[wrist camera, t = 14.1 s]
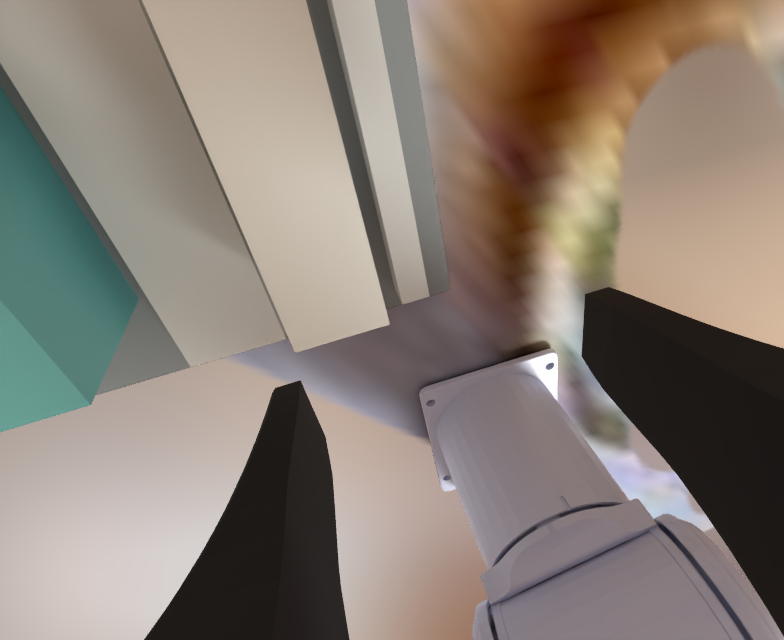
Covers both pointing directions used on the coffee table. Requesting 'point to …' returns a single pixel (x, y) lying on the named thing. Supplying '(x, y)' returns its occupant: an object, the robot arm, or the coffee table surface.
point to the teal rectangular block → (50, 287)
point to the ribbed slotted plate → (213, 168)
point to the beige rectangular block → (277, 157)
